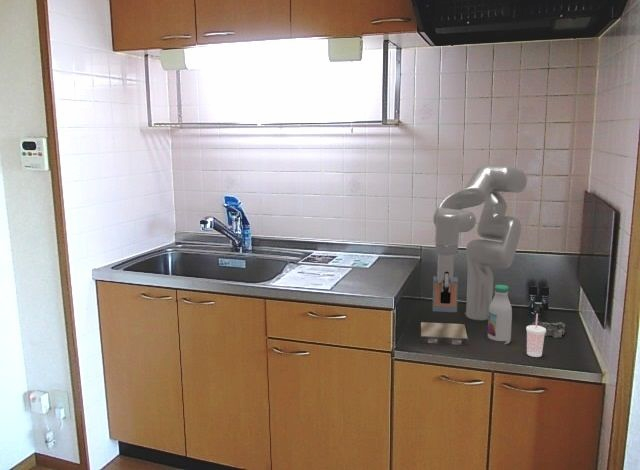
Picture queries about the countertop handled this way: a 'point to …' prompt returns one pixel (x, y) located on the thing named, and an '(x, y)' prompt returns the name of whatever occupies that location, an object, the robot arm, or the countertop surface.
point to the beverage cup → (535, 339)
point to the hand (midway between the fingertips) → (445, 299)
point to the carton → (437, 296)
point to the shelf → (444, 333)
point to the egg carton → (552, 328)
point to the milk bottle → (500, 315)
